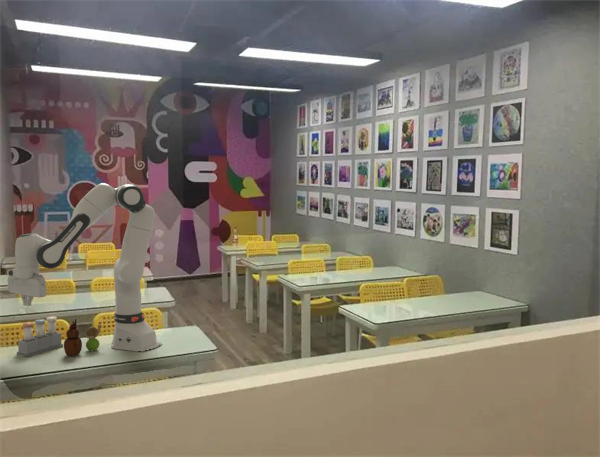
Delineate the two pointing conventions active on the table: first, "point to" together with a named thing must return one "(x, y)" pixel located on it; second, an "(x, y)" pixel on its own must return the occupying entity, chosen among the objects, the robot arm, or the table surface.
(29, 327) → the terracotta plug
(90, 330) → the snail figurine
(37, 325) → the slate plug
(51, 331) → the cream plug
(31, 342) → the socket board
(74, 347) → the wooden figurine
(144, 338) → the robot arm
